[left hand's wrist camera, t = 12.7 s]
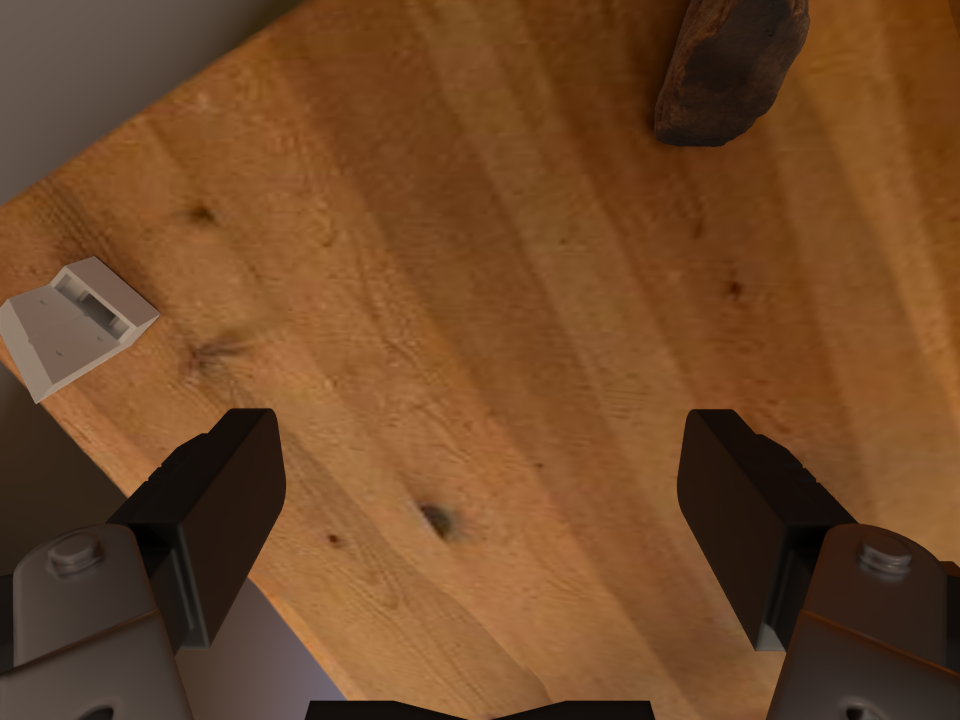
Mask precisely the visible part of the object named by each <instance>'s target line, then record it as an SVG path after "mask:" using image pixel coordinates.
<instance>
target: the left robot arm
mask: <svg viewBox="0 0 960 720" xmlns="http://www.w3.org/2000/svg"><path fill="white" fill-rule="evenodd" d="M285 494H286V476H285V469H284V463H283V456H282V449H281V442H280V435H279V429H278V422H277V417H276V414H275V412H274V411H273V410H272V409H270V408H233V409H230V410H228V411H227V413H226V414H225V415H224V416H223V417H222V418H221V419H220V420H219V421H218V423H217V424H216V425H215V426H214V427H213V428H212V429H211V430H210V431H209V433H201V434H200V435H198V436H196V437H194V438H193V439H191V440H189V441H188V442H186V443H184V444H182V445H181V446H179V447H177V448H176V449H175V450H174V451H173V452H172V453H171V454H170V455H169V457H168V458H167V459H166V460H165V461H164V462H163V463H162V466H161V467H158V468H157V469H156V470H155V471H154V472H153V473H152V474H151V475H150V476H149V478H148V481H145V482H144V483H143V484H142V485H141V486H140V487H139V488H138V489H137V490H136V491H135V492H134V493H133V494H132V495H131V496H130V497H129V498H128V500H127V501H126V502H125V503H124V504H123V505H122V506H121V507H120V508H119V509H118V510H117V511H116V512H115V513H114V514H113V515H112V516H111V517H110V518H109V519H108V520H107V522H106V523H105V524H95V525H89V526H84V527H80V528H77V529H74V530H70V531H68V532H65V533H62V534H60V535H58V536H56V537H54V538H52V539H50V540H48V541H46V542H44V543H43V544H41V545H39V546H38V547H36V548H35V549H34V550H32V551H31V552H30V553H29V554H28V555H26V556H25V557H24V558H23V559H22V560H21V562H20V563H19V564H18V566H17V567H16V569H15V571H14V574H10V575H5V576H0V720H194V717H193V714H192V711H191V708H190V705H189V701H188V698H187V695H186V692H185V689H184V685H183V682H182V679H181V676H180V673H179V670H178V666H177V663H176V660H175V656H176V654H177V652H178V650H179V649H209V648H210V646H211V644H212V642H213V641H214V639H215V637H216V635H217V633H218V631H219V629H220V627H221V625H222V623H223V621H224V620H225V618H226V616H227V614H228V612H229V610H230V608H231V606H232V604H233V602H234V600H235V598H236V596H237V595H238V593H239V591H240V589H241V587H242V585H243V583H244V581H245V579H246V577H247V575H248V574H249V572H250V570H251V568H252V566H253V564H254V562H255V560H256V558H257V556H258V554H259V553H260V551H261V549H262V547H263V545H264V543H265V541H266V539H267V537H268V535H269V533H270V531H271V530H272V528H273V526H274V524H275V522H276V520H277V518H278V516H279V514H280V512H281V510H282V508H283V504H284V500H285ZM677 495H678V501H679V505H680V509H681V511H682V513H683V515H684V517H685V519H686V521H687V523H688V525H689V527H690V528H691V530H692V532H693V534H694V536H695V538H696V540H697V542H698V544H699V545H700V547H701V549H702V551H703V553H704V555H705V557H706V559H707V561H708V563H709V564H710V566H711V568H712V570H713V572H714V574H715V576H716V578H717V580H718V581H719V583H720V585H721V587H722V589H723V591H724V593H725V595H726V597H727V598H728V600H729V602H730V604H731V606H732V608H733V610H734V612H735V614H736V616H737V617H738V619H739V621H740V623H741V625H742V627H743V629H744V631H745V633H746V634H747V636H748V638H749V640H750V642H751V644H752V646H753V648H754V650H755V651H786V653H787V654H786V657H785V660H784V663H783V666H782V670H781V673H780V676H779V679H778V682H777V685H776V689H775V692H774V695H773V698H772V701H771V705H770V708H769V711H768V714H767V717H766V720H960V577H956V576H951V575H947V574H946V571H945V569H944V567H943V566H942V564H941V563H940V562H939V560H938V559H937V558H936V557H935V556H934V555H933V554H931V553H930V552H929V551H928V550H926V549H925V548H924V547H922V546H921V545H919V544H917V543H916V542H914V541H912V540H910V539H908V538H907V537H904V536H902V535H900V534H898V533H895V532H892V531H890V530H887V529H883V528H880V527H876V526H871V525H865V524H859V523H858V522H857V521H856V520H855V519H854V518H853V517H852V516H851V515H850V514H849V513H848V512H847V511H846V510H845V509H844V508H843V507H842V506H841V505H840V503H839V502H838V501H837V500H836V499H835V498H834V497H833V496H832V495H831V494H830V493H829V492H828V491H827V490H826V489H825V488H824V487H823V486H822V485H821V484H820V483H816V479H815V477H814V476H813V475H812V474H811V473H810V472H809V471H808V470H807V469H806V468H803V467H802V464H801V463H800V462H799V461H798V460H797V459H796V458H795V457H794V456H793V455H792V454H791V453H790V452H789V450H788V449H787V448H785V447H783V446H781V445H780V444H778V443H776V442H774V441H773V440H771V439H769V438H767V437H766V436H764V435H762V434H755V433H754V432H753V431H752V429H751V428H750V427H749V426H748V425H747V424H746V423H745V422H744V421H743V420H742V418H741V417H740V416H739V415H738V414H737V413H736V412H735V411H734V410H732V409H693V410H691V411H690V412H689V413H688V416H687V419H686V423H685V430H684V437H683V443H682V450H681V457H680V464H679V470H678V477H677ZM305 720H467V719H463V718H459V717H455V716H452V715H448V714H444V713H440V712H436V711H432V710H428V709H424V708H420V707H416V706H413V705H409V704H405V703H401V702H397V701H310V703H309V707H308V710H307V713H306V717H305ZM493 720H655V717H654V713H653V710H652V707H651V703H650V701H563V702H559V703H555V704H551V705H547V706H544V707H540V708H536V709H532V710H528V711H524V712H520V713H516V714H512V715H508V716H505V717H501V718H497V719H493Z"/></svg>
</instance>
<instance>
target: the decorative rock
mask: <svg viewBox="0 0 960 720" xmlns="http://www.w3.org/2000/svg"><path fill="white" fill-rule="evenodd" d="M809 23H810V18H809V14H808V0H691V2H690V4H689V7H688V9H687V12H686V15H685V18H684V21H683V24H682V27H681V30H680V33H679V35H678V39H677V43H676V47H675V50H674V53H673V56H672V59H671V62H670V64H669V67H668V70H667V73H666V77H665V81H664V84H663V86H662V89H661V91H660V93H659V96H658V100H657V102H656V106H655V113H654V114H655V124H654V135H655V138H656V139H657V140H659V141H661V142H663V143H664V144H671V145H676V146H710V147H717V146H722V145H724V144H725V143H726V142H728V141H730V140H733V139H735V138H736V137H737V136H739V135H741V134H743V133H745V132H746V130H747V129H749V128H750V127H751V126H752V125H753V124H754V122H755V120H756V119H757V118H758V117H760V116H762V115H763V114H765V113H766V112H767V111H768V110H769V109H770V108H771V106H772V105H773V103H774V101H775V99H776V97H777V93H778V91H779V89H780V87H781V85H782V82H783V80H784V77H785V75H786V72H787V71H788V69H789V67H790V66H791V64H792V63H793V61H794V59H795V58H796V56H797V55H798V54H799V52H800V51H801V49H802V47H803V45H804V43H805V40H806V36H807V33H808V29H809Z"/></svg>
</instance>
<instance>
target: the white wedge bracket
mask: <svg viewBox="0 0 960 720" xmlns="http://www.w3.org/2000/svg"><path fill="white" fill-rule="evenodd" d="M160 314H161V313H160V312H158V311H157V310H156V309H155V308H154V307H153V306H151V305H150V304H149V303H148V302H147V301H146V300H145V299H143V298H142V297H141V296H140V295H139V294H138V293H137V292H135V291H134V290H133V289H132V288H131V287H130V286H128V285H127V284H126V283H125V282H124V281H123V280H122V279H120V278H119V277H118V276H117V275H116V274H115V273H114V272H112V271H111V270H110V269H109V268H108V267H107V266H105V265H104V264H103V263H102V262H101V261H100V260H99V259H97V258H96V257H95V256H93V257H90V258H87V259H84V260H81V261H78V262H75V263H72V264H69V265H65V266H64V267H63V268H62V269H61V271H60V272H59V273H58V274H57V275H56V276H55V278H54V279H53V280H52V281H51V282H50V283H49V284H47V285H45V286H42V287H39V288H36V289H33V290H31V291H28V292H25V293H22V294H19V295H16V296H14V297H11V298H8V299H7V300H6V302H5V303H4V304H3V305H2V306H1V308H0V334H1V336H2V338H3V340H4V342H5V344H6V346H7V348H8V350H9V352H10V354H11V356H12V358H13V360H14V362H15V364H16V366H17V368H18V370H19V372H20V374H21V376H22V378H23V380H24V382H25V384H26V386H27V388H28V390H29V392H30V394H31V396H32V398H33V400H34V402H35V404H36V403H38V402H40V401H41V400H43V399H44V398H46V397H48V396H49V395H51V394H53V393H54V392H56V391H57V390H59V389H61V388H62V387H64V386H66V385H67V384H69V383H70V382H72V381H74V380H75V379H77V378H79V377H80V376H82V375H83V374H85V373H87V372H88V371H90V370H92V369H93V368H95V367H96V366H98V365H100V364H101V363H103V362H105V361H106V360H108V359H109V358H111V357H113V356H114V355H116V354H118V353H119V352H121V351H122V350H124V349H126V348H127V347H129V346H131V345H132V344H133V343H134V342H135V341H136V340H137V339H138V338H139V337H140V335H141V334H142V333H143V332H144V331H145V330H146V329H147V328H148V327H149V326H150V325H151V324H152V323H153V322H154V321H155V320H156V319H157V318H158V317H159V315H160Z"/></svg>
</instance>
